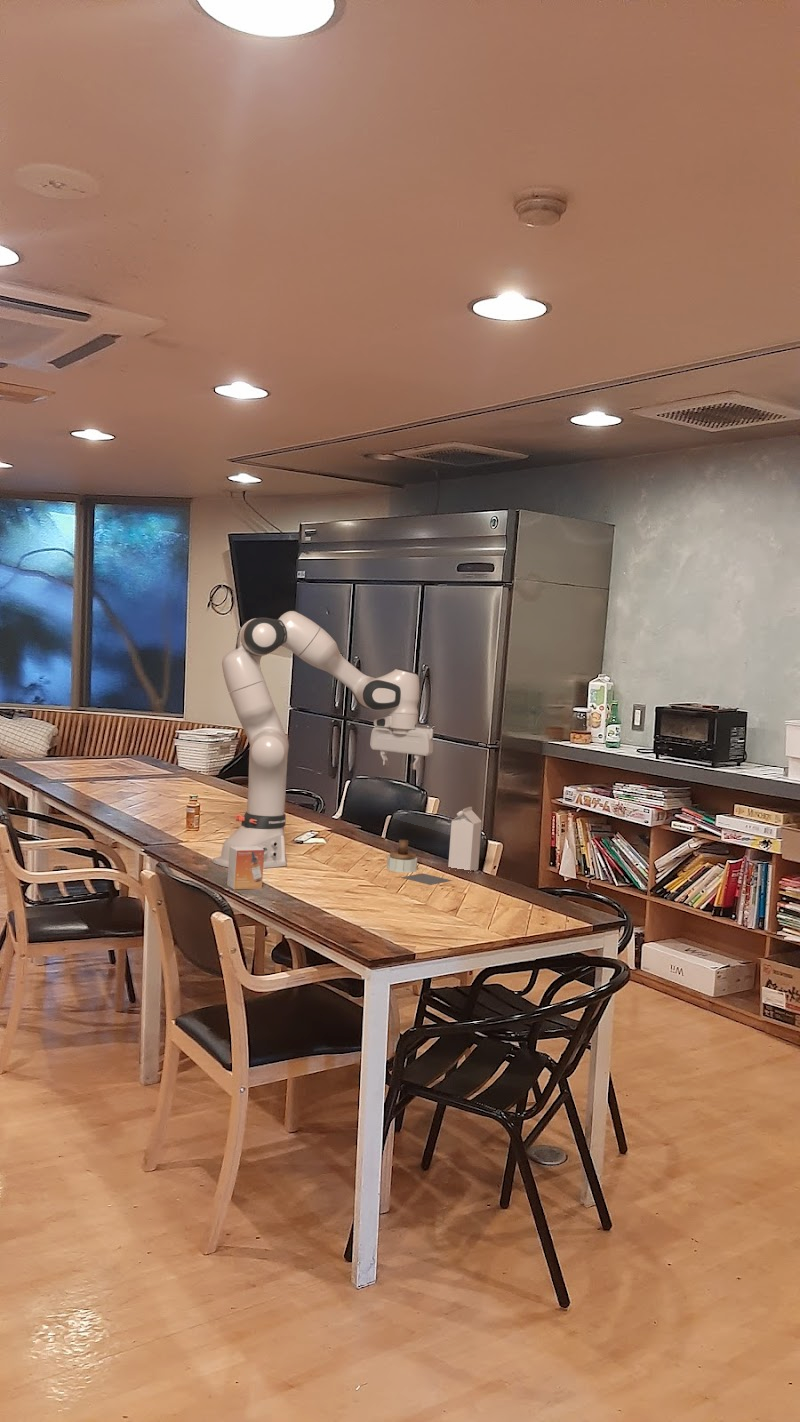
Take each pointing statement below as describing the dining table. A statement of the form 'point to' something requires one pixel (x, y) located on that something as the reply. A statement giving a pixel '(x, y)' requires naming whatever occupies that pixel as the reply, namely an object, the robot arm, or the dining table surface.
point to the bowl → (402, 865)
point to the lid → (402, 852)
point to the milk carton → (465, 840)
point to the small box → (245, 867)
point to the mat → (426, 879)
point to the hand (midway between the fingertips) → (399, 767)
